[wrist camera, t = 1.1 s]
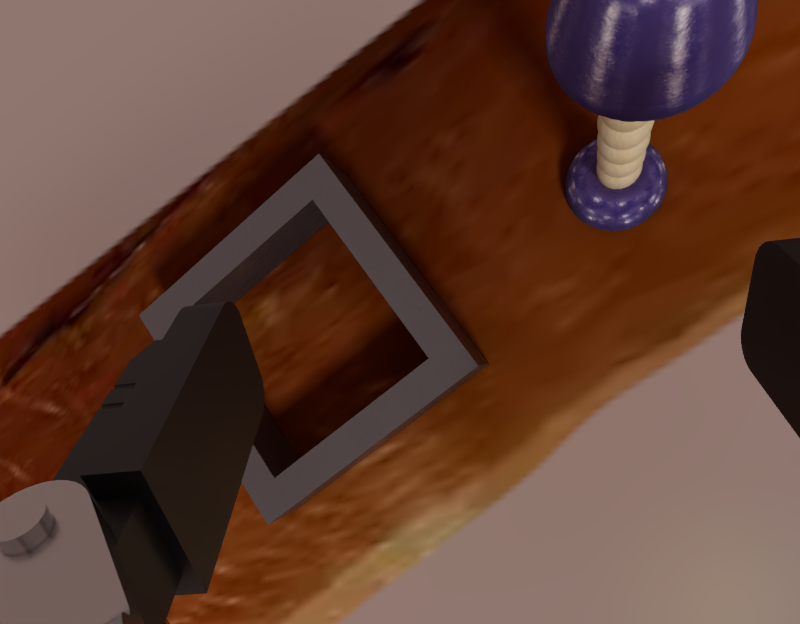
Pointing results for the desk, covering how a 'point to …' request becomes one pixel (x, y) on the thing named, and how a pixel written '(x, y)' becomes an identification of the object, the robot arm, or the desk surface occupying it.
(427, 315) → the square frame
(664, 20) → the toy lamp
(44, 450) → the desk surface
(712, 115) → the desk surface
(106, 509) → the robot arm
